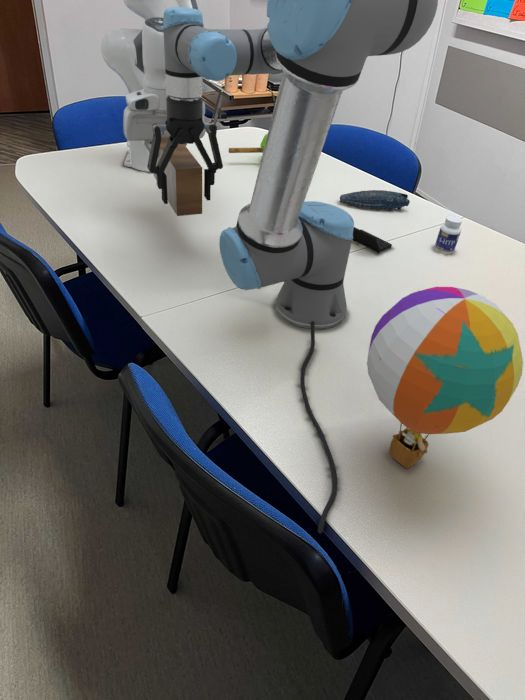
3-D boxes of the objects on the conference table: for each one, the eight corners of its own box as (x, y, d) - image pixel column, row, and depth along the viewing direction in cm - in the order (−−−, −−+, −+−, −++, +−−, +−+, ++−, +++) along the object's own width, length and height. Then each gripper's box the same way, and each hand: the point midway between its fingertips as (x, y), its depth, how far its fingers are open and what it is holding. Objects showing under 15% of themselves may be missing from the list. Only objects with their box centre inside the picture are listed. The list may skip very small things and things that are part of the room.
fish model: (408, 214, 157) (412, 198, 153) (339, 207, 158) (341, 191, 154) (406, 206, 162) (410, 190, 159) (339, 199, 163) (341, 183, 160)
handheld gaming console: (396, 239, 139) (388, 216, 131) (384, 261, 138) (375, 240, 130) (358, 230, 145) (348, 208, 137) (347, 252, 144) (336, 231, 136)
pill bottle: (433, 251, 139) (442, 220, 133) (435, 243, 143) (444, 213, 137) (453, 256, 138) (464, 225, 132) (454, 247, 142) (465, 217, 136)
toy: (317, 448, 82) (351, 286, 63) (393, 397, 93) (442, 246, 74) (418, 536, 71) (496, 372, 52) (491, 467, 82) (578, 310, 63)
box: (202, 213, 122) (202, 167, 115) (177, 216, 120) (175, 169, 113) (175, 173, 141) (174, 131, 134) (153, 175, 139) (150, 132, 132)
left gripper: (201, 94, 131) (201, 150, 139) (118, 95, 124) (124, 154, 133) (208, 101, 126) (208, 158, 135) (123, 102, 120) (128, 162, 128)
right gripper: (229, 91, 114) (226, 190, 128) (127, 92, 107) (135, 197, 121) (240, 100, 109) (236, 202, 123) (133, 102, 101) (142, 210, 115)
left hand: (166, 156), depth 134 cm, fingers closed on box, 6 cm apart
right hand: (186, 199), depth 122 cm, fingers open, 9 cm apart
